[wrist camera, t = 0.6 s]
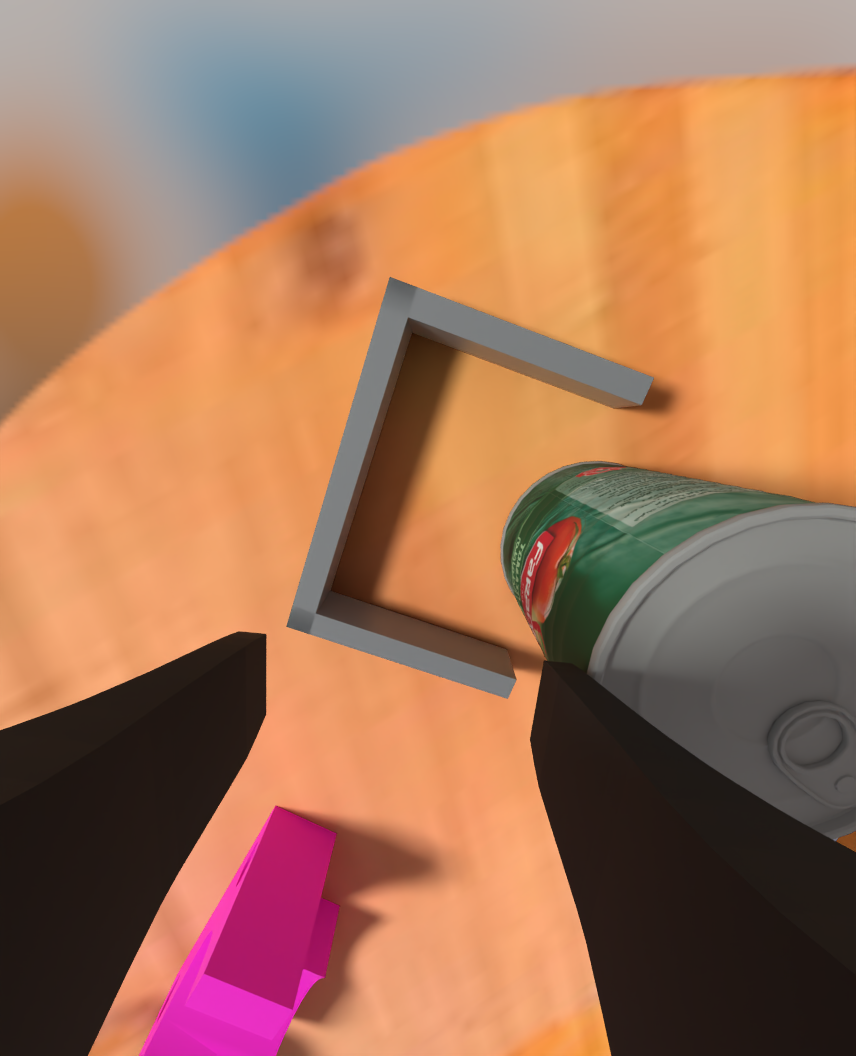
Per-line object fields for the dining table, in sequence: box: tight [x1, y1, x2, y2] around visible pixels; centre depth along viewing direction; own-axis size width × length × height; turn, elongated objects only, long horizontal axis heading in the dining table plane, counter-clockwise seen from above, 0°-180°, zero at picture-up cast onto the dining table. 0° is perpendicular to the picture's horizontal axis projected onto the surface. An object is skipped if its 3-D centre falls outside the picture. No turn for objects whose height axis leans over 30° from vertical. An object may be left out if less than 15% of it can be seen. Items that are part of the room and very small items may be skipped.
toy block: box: [139, 806, 340, 1056], centre depth 21 cm, size 15×6×8 cm, turn 151°
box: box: [286, 277, 654, 699], centre depth 18 cm, size 10×14×2 cm
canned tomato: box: [501, 461, 856, 840], centre depth 14 cm, size 8×8×11 cm
